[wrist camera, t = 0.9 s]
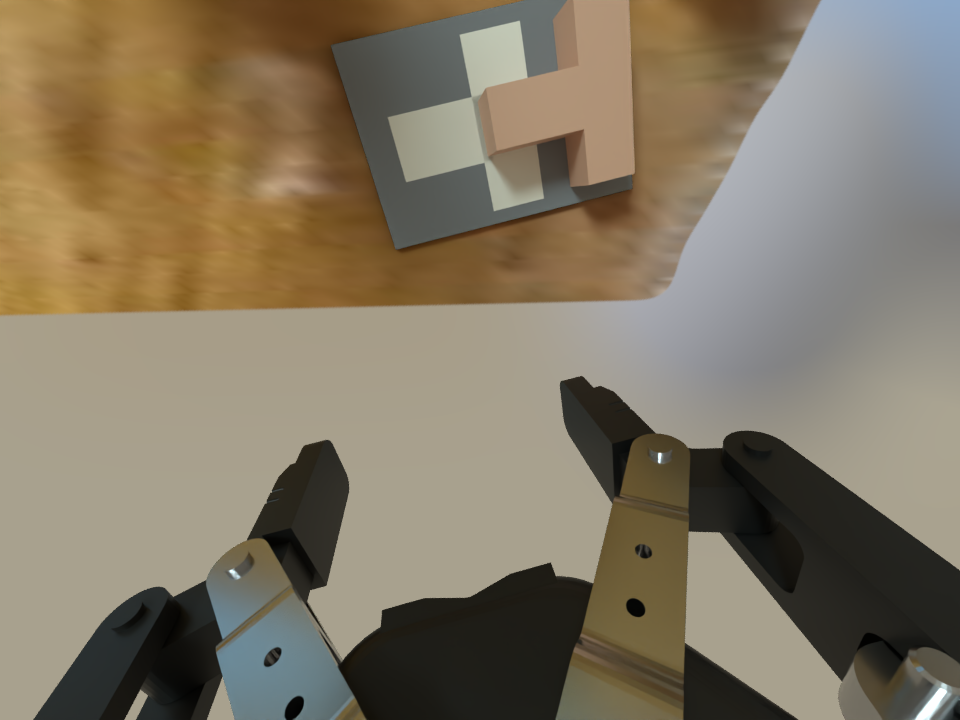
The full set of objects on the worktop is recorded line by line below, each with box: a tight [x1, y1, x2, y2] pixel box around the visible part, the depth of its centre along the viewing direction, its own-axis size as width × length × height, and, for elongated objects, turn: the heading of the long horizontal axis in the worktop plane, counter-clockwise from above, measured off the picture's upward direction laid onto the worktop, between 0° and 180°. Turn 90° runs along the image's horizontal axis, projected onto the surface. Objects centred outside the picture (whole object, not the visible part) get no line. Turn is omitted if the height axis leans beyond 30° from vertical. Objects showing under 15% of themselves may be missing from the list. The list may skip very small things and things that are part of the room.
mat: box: [331, 0, 632, 249], centre depth 30 cm, size 15×23×1 cm, turn 103°
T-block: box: [478, 0, 635, 187], centre depth 29 cm, size 12×11×4 cm
